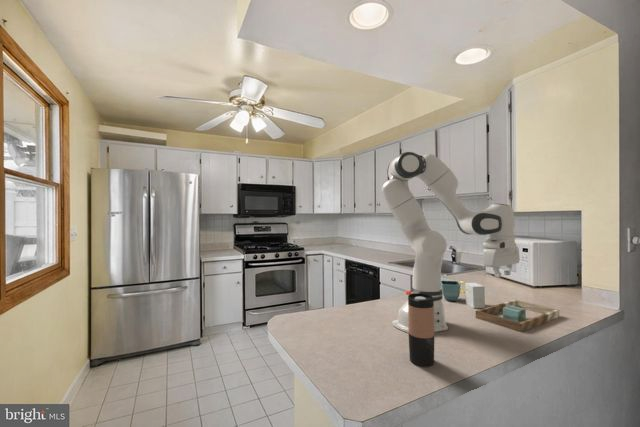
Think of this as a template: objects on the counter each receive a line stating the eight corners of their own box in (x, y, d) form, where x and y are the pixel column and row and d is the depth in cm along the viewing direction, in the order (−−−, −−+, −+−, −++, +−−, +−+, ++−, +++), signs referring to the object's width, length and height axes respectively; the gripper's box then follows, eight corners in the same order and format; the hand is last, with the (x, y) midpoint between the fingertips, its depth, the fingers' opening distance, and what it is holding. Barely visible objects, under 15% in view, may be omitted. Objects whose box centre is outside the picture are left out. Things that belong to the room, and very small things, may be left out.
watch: (457, 291, 170) (456, 281, 170) (460, 291, 171) (460, 280, 171) (465, 293, 164) (464, 282, 165) (469, 292, 165) (468, 282, 166)
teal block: (517, 322, 121) (517, 311, 121) (503, 318, 126) (502, 307, 126) (525, 319, 124) (525, 309, 124) (510, 315, 129) (510, 305, 129)
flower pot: (442, 301, 150) (442, 284, 150) (440, 296, 159) (440, 280, 159) (461, 302, 148) (460, 285, 148) (458, 297, 156) (457, 281, 156)
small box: (485, 308, 138) (484, 286, 138) (473, 308, 138) (473, 286, 139) (476, 303, 146) (476, 282, 146) (465, 303, 146) (465, 282, 147)
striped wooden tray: (520, 332, 111) (520, 324, 111) (475, 317, 126) (475, 310, 126) (559, 317, 126) (559, 310, 126) (514, 305, 141) (514, 299, 141)
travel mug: (428, 354, 94) (427, 293, 94) (439, 367, 87) (438, 299, 87) (405, 355, 94) (404, 293, 94) (413, 367, 86) (412, 300, 86)
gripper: (508, 240, 129) (508, 271, 129) (480, 243, 119) (480, 277, 119) (523, 241, 123) (524, 274, 123) (495, 244, 113) (496, 280, 113)
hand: (502, 275), depth 121 cm, fingers open, 5 cm apart
